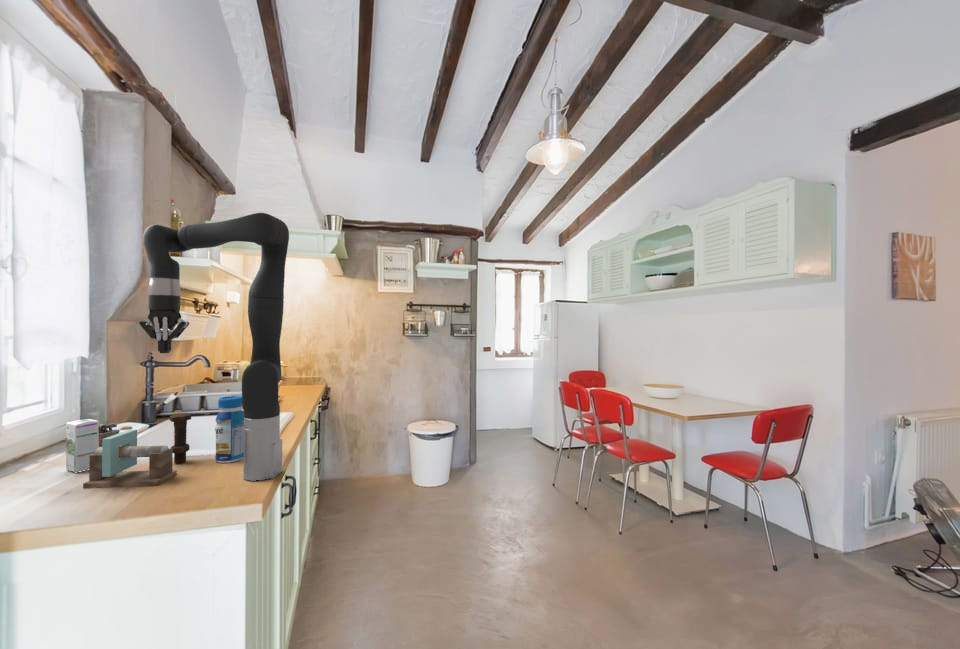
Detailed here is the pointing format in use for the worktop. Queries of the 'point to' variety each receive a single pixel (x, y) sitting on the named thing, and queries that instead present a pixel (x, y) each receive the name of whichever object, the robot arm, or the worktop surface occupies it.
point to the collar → (117, 453)
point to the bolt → (180, 437)
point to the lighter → (106, 432)
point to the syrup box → (81, 443)
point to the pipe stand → (157, 471)
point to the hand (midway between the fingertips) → (164, 353)
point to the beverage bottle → (229, 430)
